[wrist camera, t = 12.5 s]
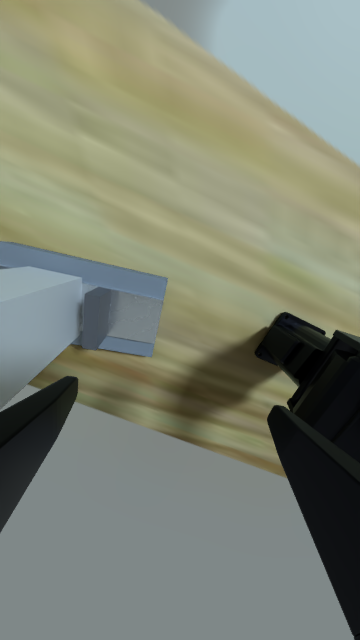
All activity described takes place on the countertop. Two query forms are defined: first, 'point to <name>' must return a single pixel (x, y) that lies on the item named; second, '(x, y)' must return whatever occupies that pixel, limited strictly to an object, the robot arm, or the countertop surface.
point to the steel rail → (128, 314)
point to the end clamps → (94, 316)
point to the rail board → (90, 274)
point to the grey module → (34, 323)
